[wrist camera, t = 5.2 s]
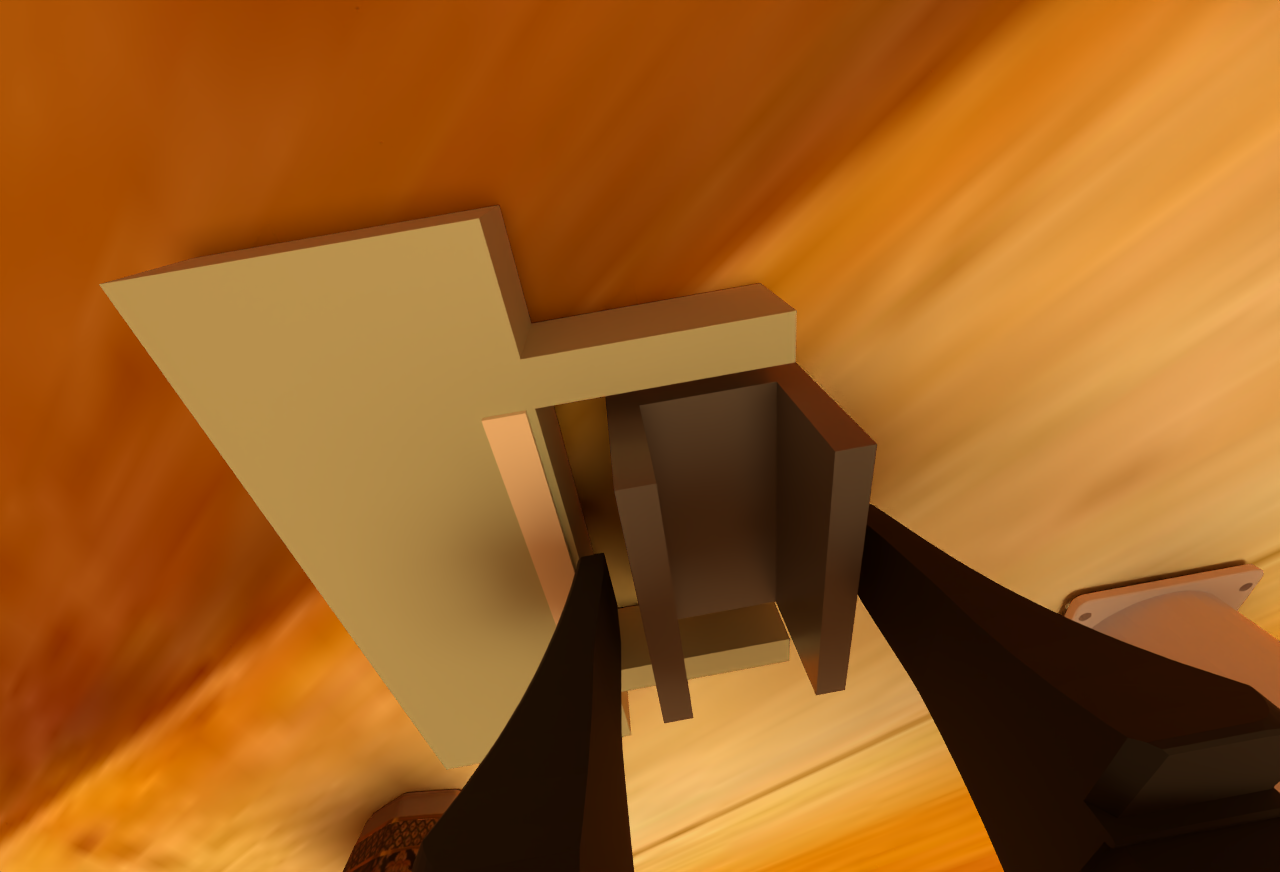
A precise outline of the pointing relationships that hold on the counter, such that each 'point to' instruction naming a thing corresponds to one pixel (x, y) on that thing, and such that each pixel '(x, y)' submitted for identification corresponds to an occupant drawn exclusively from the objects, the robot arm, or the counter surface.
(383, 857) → the ceramic cup
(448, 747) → the tan bracket
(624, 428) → the chute
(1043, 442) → the counter surface
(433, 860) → the robot arm
